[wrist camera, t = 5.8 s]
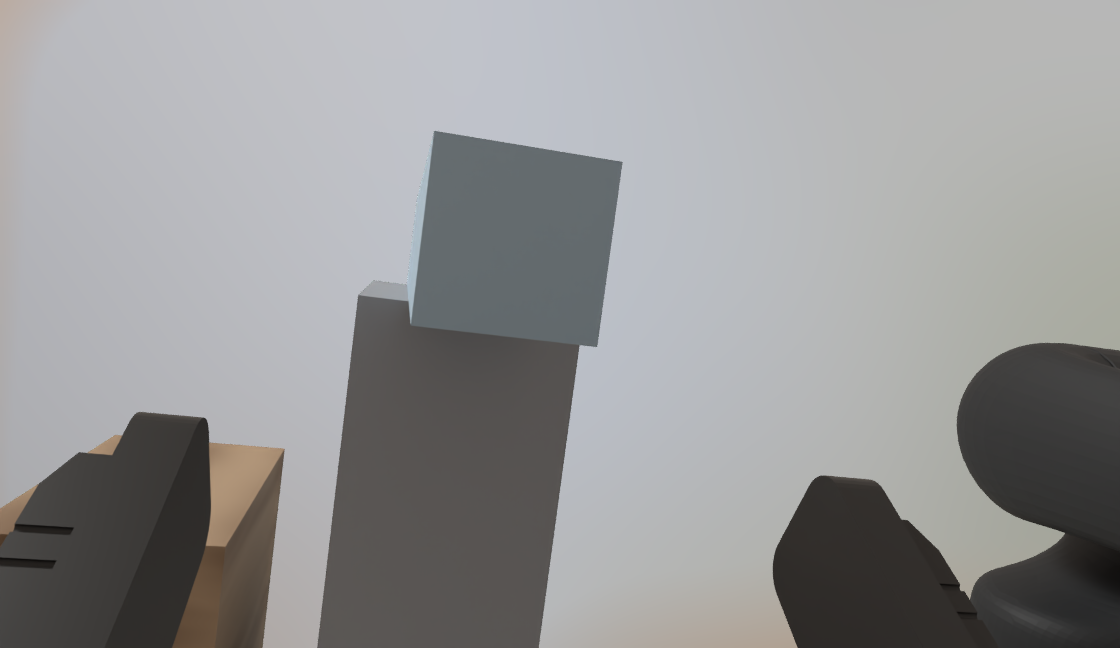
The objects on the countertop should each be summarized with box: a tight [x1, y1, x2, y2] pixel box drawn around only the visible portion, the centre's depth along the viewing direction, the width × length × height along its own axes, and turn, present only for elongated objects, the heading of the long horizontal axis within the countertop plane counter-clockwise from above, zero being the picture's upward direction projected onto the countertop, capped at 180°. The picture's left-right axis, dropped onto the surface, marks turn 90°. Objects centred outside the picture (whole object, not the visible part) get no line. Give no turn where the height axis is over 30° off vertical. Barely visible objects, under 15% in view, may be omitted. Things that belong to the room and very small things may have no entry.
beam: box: [407, 131, 622, 347], centre depth 27 cm, size 4×22×4 cm, turn 12°
